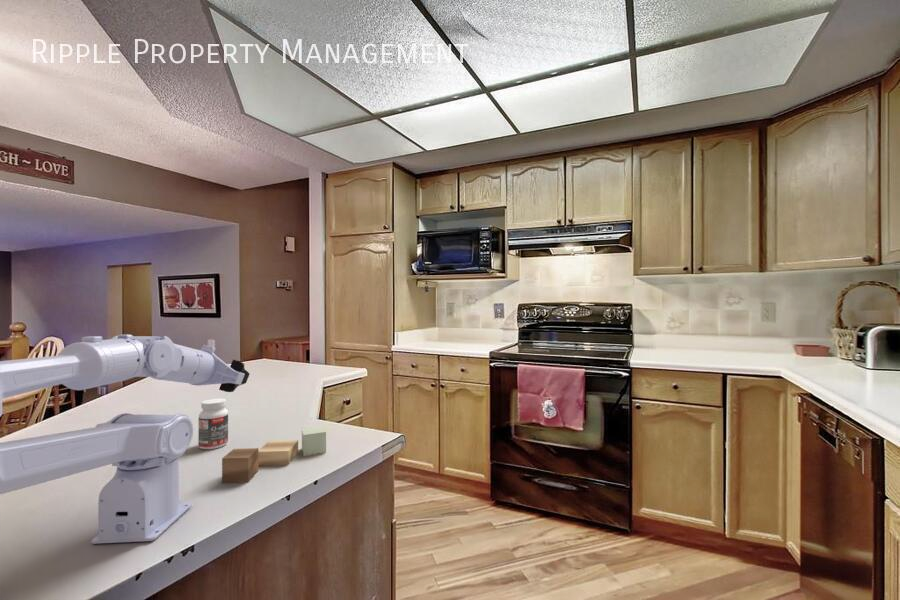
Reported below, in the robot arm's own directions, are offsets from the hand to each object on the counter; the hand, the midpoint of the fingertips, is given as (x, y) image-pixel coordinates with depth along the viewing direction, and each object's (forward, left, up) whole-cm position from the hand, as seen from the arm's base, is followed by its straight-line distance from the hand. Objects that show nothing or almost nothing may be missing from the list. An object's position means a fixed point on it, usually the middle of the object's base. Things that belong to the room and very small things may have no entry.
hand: (228, 373), depth 79 cm
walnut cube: (-6, -5, -18) cm, 20 cm away
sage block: (+6, -15, -18) cm, 24 cm away
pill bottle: (+11, +8, -18) cm, 23 cm away
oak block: (+2, -9, -18) cm, 20 cm away
